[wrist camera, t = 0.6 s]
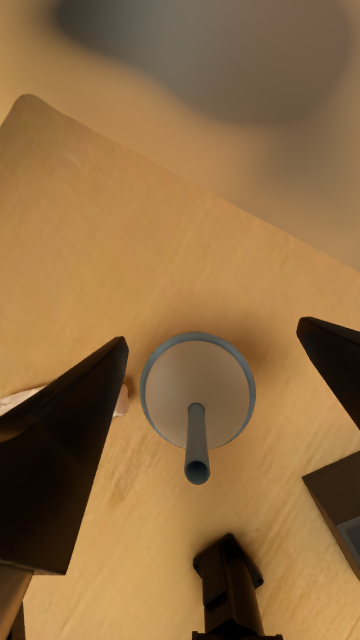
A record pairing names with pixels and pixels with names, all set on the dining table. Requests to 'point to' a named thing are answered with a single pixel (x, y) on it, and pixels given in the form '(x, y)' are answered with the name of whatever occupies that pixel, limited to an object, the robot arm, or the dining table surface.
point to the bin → (340, 504)
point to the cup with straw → (197, 396)
